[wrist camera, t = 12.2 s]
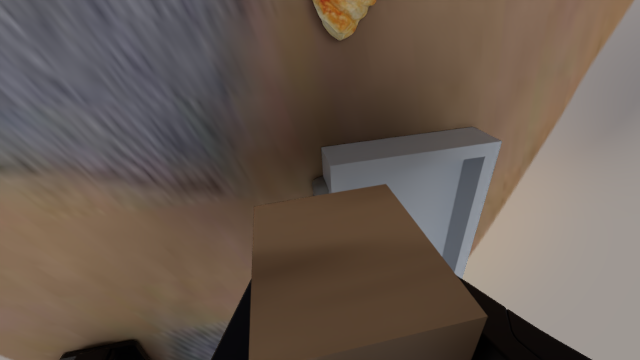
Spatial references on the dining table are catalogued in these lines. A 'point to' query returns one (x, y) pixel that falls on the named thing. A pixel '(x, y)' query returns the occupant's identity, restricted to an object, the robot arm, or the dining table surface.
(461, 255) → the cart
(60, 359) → the robot arm
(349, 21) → the croissant
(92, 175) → the dining table surface
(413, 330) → the walnut block
